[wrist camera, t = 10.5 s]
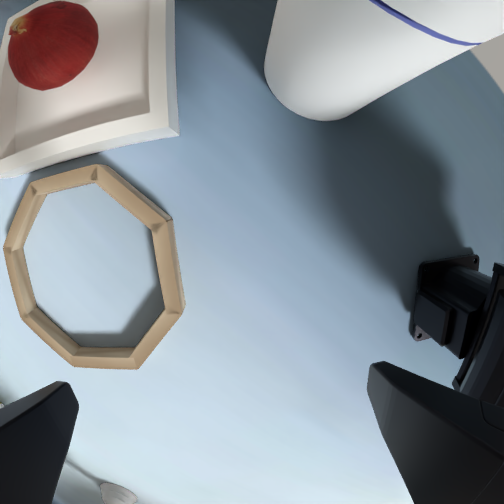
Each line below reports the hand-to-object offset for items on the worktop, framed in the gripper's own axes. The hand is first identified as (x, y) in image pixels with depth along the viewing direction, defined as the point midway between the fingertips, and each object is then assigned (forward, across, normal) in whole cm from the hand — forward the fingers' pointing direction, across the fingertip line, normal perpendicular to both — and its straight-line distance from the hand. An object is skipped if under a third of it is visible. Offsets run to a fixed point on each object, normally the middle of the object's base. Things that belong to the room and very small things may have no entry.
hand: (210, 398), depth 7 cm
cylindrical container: (+12, -7, -13) cm, 19 cm away
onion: (+11, +9, -16) cm, 21 cm away
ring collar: (+12, +10, -1) cm, 16 cm away
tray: (+12, +9, -16) cm, 22 cm away
